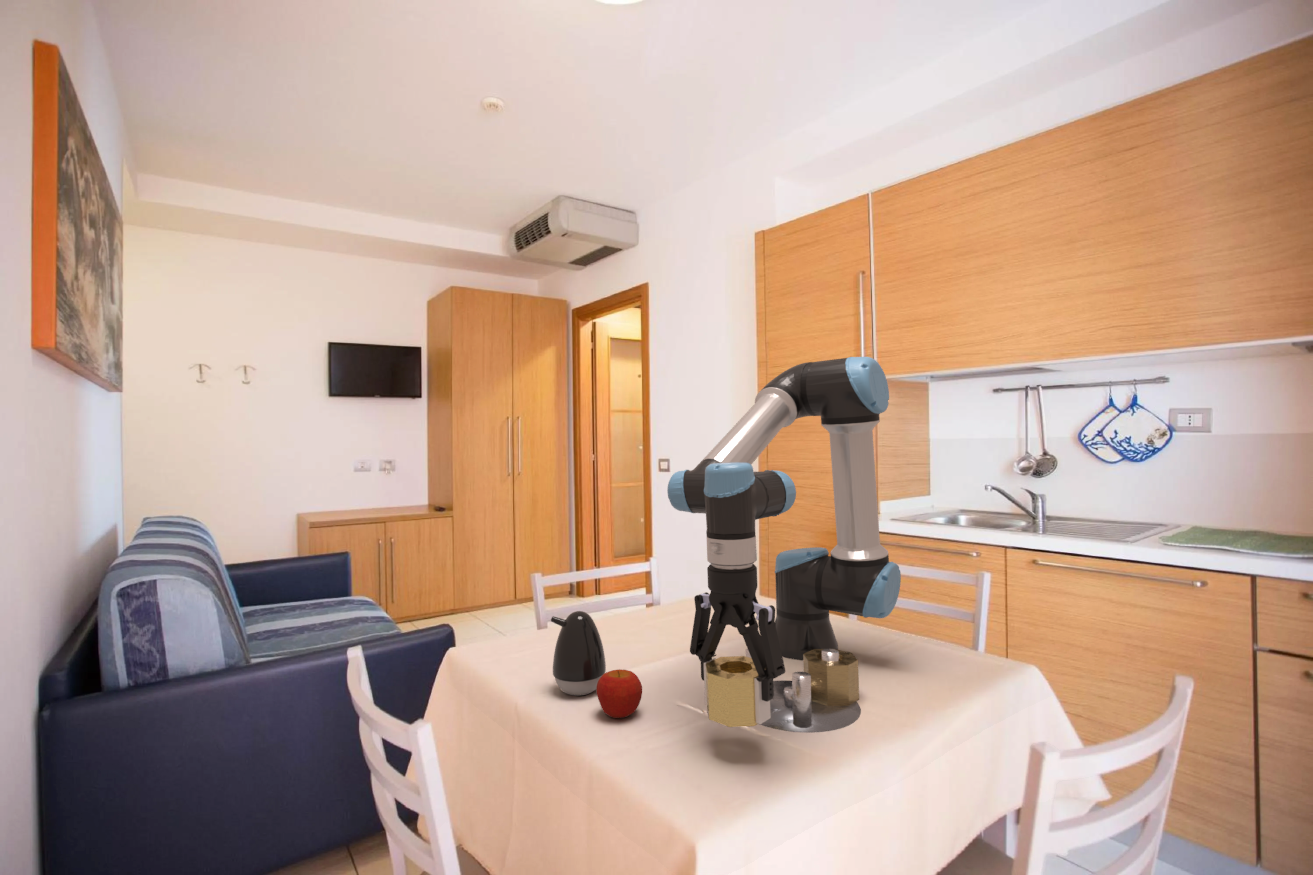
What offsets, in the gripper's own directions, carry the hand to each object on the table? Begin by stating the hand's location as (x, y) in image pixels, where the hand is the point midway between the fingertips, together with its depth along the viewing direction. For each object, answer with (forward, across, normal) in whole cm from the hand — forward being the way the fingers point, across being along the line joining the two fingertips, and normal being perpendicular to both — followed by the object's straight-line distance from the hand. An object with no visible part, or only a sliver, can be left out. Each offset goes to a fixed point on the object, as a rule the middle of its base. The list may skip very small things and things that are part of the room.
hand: (736, 710), depth 94 cm
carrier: (+7, -2, +19) cm, 20 cm away
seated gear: (+6, +1, +27) cm, 27 cm away
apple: (+6, -23, -4) cm, 24 cm away
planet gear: (0, 0, 0) cm, 0 cm away
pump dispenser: (+6, -37, -2) cm, 37 cm away
